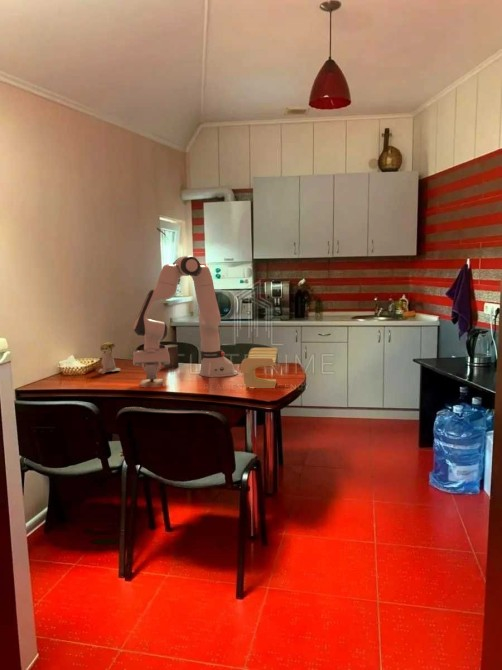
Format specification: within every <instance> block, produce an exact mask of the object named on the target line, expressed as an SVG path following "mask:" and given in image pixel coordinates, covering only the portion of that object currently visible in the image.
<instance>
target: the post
mask: <svg viewBox="0 0 502 670" xmlns="http://www.w3.org/2000/svg"><path fill="white" fill-rule="evenodd" d="M164 381H165V379H164V378H156V379H148V380H147V379H141V381H140V383H139V388H140V387H144V388H159V387H160V386H162V387H163V386H164V383H165V382H164Z"/></svg>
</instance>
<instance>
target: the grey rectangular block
mask: <svg viewBox="0 0 502 670" xmlns="http://www.w3.org/2000/svg"><path fill="white" fill-rule="evenodd" d="M145 367H146V371H145V373H146V374H145V375H146V380H148V379H158V371H156V367H158V365H156V363H147V364H146V365H145Z"/></svg>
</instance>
